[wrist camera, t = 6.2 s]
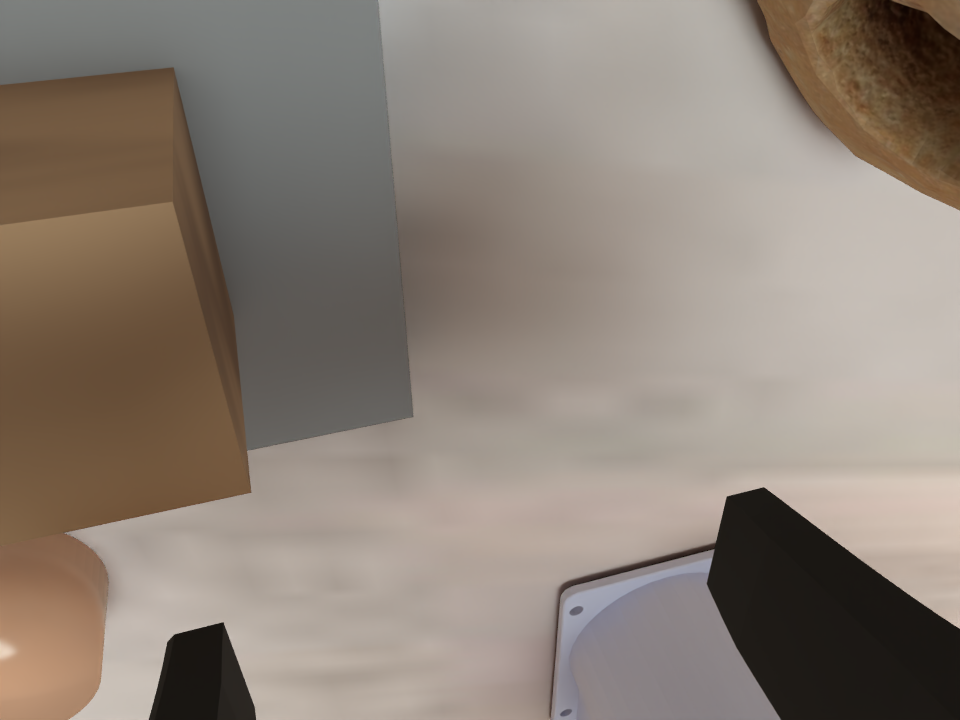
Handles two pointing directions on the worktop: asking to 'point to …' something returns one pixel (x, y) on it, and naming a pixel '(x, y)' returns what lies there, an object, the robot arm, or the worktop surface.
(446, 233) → the worktop surface
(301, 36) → the slate base
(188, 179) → the walnut cube
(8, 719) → the terracotta puck
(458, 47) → the worktop surface
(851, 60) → the pipe
